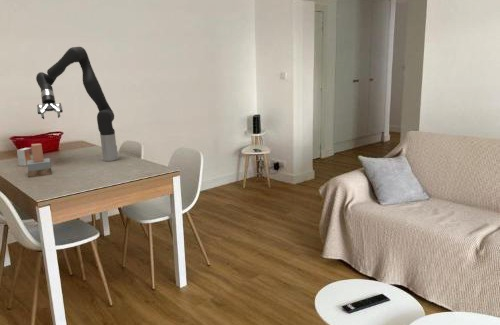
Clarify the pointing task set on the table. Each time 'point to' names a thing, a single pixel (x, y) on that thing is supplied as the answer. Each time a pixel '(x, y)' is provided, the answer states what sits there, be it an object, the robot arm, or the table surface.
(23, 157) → the small box
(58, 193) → the table surface
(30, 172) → the walnut slab
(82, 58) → the robot arm
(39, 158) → the terracotta block
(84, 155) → the table surface
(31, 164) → the slate-grey slab
